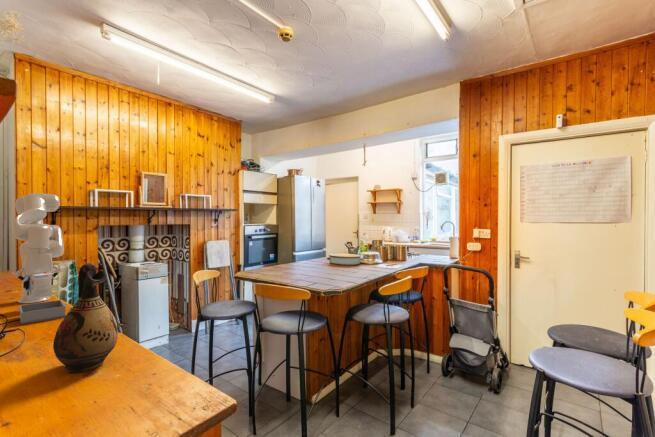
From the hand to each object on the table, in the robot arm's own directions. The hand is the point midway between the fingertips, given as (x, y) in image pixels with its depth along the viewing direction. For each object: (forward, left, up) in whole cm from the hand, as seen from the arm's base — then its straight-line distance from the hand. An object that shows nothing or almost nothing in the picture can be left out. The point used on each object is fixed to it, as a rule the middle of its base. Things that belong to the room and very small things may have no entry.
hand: (38, 287), depth 151 cm
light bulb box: (0, 0, -4) cm, 4 cm away
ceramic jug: (+86, +5, -11) cm, 87 cm away
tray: (+17, 0, -10) cm, 20 cm away
